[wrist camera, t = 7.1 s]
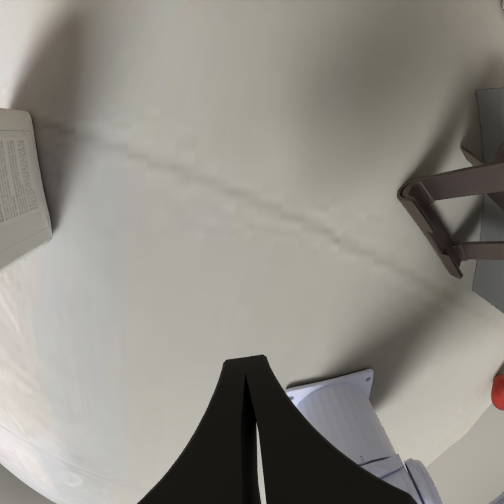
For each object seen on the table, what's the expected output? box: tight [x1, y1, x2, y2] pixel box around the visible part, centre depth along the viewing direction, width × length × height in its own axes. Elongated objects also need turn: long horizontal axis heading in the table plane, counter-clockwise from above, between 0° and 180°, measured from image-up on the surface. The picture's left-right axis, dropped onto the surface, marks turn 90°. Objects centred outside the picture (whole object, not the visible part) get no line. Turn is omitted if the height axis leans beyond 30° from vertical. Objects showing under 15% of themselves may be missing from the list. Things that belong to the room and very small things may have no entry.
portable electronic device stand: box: [397, 142, 504, 279], centre depth 14 cm, size 9×8×8 cm
